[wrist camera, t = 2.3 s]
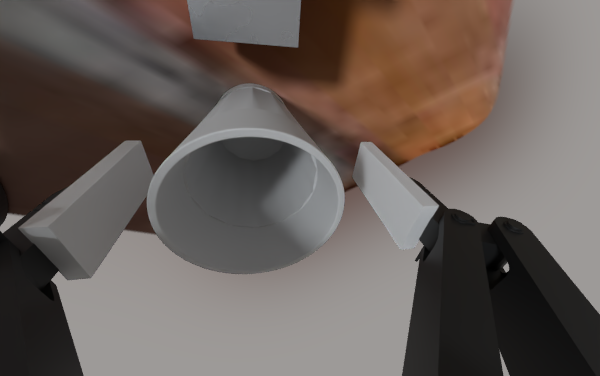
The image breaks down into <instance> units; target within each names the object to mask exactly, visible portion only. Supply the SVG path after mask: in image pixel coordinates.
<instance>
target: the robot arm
mask: <svg viewBox="0 0 600 376" xmlns="http://www.w3.org/2000/svg"><path fill="white" fill-rule="evenodd" d="M153 176H154V175H153V172H152V169H151V167H150V164H149V161H148V158H147V156H146V153H145V150H144V148H143V145H142V142H141V141H126V140H125V141H124V142H123V143H122V144H120V145H119V146H118V147H117V148H116V149H114V150H113V151H112V152H111V153H109V154H108V155H107V156H106V157H105V158H103V159H102V160H101V161H100V162H98V163H97V164H96V165H95V166H93V167H92V168H91V169H90V170H89V171H87V172H86V173H85V174H84V175H82V176H81V177H80V178H79V179H78V180H76V181H75V182H74V183H73V184H71V185H70V186H69V187H66V188H64V189H62V190H60V191H58V192H56V193H54V194H52V195H51V196H50V197H48V198H47V199H46V200H45V201H43V202H42V204H40V205H38V206H37V207H36V208H34V209H33V212H29V213H28V214H27V215H26V216H24V217H23V218H22V219H21V220H19V221H18V222H17V223H16V224H14V225H13V226H12V227H10V228H9V229H8V230H7V231H5V232H4V233H2V232H1V231H0V376H83V372H82V369H81V366H80V362H79V359H78V356H77V353H76V349H75V346H74V343H73V339H72V336H71V333H70V330H69V326H68V323H67V320H66V316H65V313H64V310H63V306H62V303H61V300H60V296H59V293H58V290H57V286H56V285H55V284H54V283H53V282H52V281H51V279H52V278H53V277H54V276H55V274H56V273H57V272H58V271H59V272H60V273H61V274H62V275H63V276H64V277H65V278H66V279H67V280H75V279H86V278H91V277H92V276H93V274H94V273H95V271H96V270H97V268H98V267H99V266H100V264H101V263H102V261H103V260H104V258H105V257H106V255H107V254H108V252H109V251H110V249H111V248H112V246H113V245H114V243H115V242H116V240H117V239H118V238H119V236H120V235H121V233H122V232H123V230H124V229H125V227H126V226H127V224H128V223H129V221H130V220H131V218H132V217H133V215H134V214H135V212H136V211H137V209H138V208H139V206H140V205H141V204H142V202H143V201H144V199H145V198H146V196H147V194H148V189H149V186H150V183H151V180H152V178H153ZM352 178H353V179H354V181H355V182H356V184H357V185H358V187H359V188H360V190H361V191H362V193H363V194H364V196H365V197H366V199H367V200H368V202H369V203H370V205H371V206H372V208H373V209H374V211H375V212H376V214H377V215H378V217H379V218H380V220H381V221H382V223H383V224H384V226H385V227H386V229H387V230H388V232H389V233H390V235H391V236H392V238H393V239H394V241H395V242H396V244H397V245H398V247H399V248H400V249H411V248H415V246H416V244H417V242H418V241H419V240H420V241H421V242H422V243H423V245H424V246H423V248H422V250H421V251H420V253H419V255H418V256H417V258H416V260H415V261H418V260H419V259H420V260H419V268H418V274H417V280H416V287H415V294H414V300H413V307H412V314H411V320H410V327H409V333H408V340H407V347H406V353H405V361H404V367H403V373H402V376H503V371H502V364H501V359H500V352H501V354H502V357H503V360H504V362H505V365H506V367H507V370H508V372H509V375H510V376H600V314H599V313H598V312H597V311H596V310H595V308H594V307H593V306H592V305H591V303H590V302H589V301H588V300H587V299H586V297H585V296H584V295H583V294H582V293H581V291H580V290H579V289H578V288H577V286H576V285H575V284H574V283H573V282H572V280H571V279H570V278H569V277H568V276H567V274H566V273H565V272H564V270H563V269H562V268H561V267H560V266H559V264H558V263H557V262H556V261H555V260H554V258H553V257H552V256H551V255H550V253H549V252H548V251H547V250H546V248H545V247H544V246H543V245H542V244H541V242H540V241H539V240H538V239H537V238H536V236H535V235H534V234H533V233H532V231H531V230H529V229H528V228H527V227H526V226H524V225H523V224H522V223H520V222H518V221H516V220H514V219H510V218H506V217H497V218H496V219H495V220H494V221H493V222H492V224H491V225H490V224H484V223H478V222H477V220H475V219H474V218H473V217H472V216H470V215H469V214H467V213H465V212H463V211H461V210H457V209H448V208H447V207H446V206H445V205H444V204H443V203H441V202H440V201H439V200H438V199H437V198H436V197H435V196H434V195H433V194H431V193H430V192H429V191H428V190H427V189H425V187H424V186H423V185H422V184H421V183H419V182H418V181H416V180H414V179H413V178H410V177H408V176H407V175H406V174H405V173H404V172H403V171H402V170H401V169H400V168H399V167H398V166H397V165H395V164H394V163H393V162H392V161H391V160H390V159H389V158H388V157H387V156H386V155H385V154H384V153H383V152H382V151H381V150H380V149H378V148H377V147H376V146H375V145H374V144H373V143H372V142H361V144H360V148H359V152H358V156H357V160H356V163H355V167H354V171H353V175H352ZM7 213H8V201H7V197H6V194H5V192H4V190H3V188H2V186H1V184H0V226H1V224H2V223H3V222H4V220H5V219H6V216H7ZM507 262H508V264H509V271H508V272H507V273H506V272H505V270H504V269H503V266H504V265H505V264H506V263H507ZM499 350H500V352H499Z"/></svg>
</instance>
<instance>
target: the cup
mask: <svg viewBox="0 0 600 376" xmlns="http://www.w3.org/2000/svg"><path fill="white" fill-rule="evenodd" d="M344 204H345V193H344V187H343V183H342V180H341V177H340V175H339V173H338V171H337V169H336V168H335V166H334V165H333V163H332V162H331V161H330V160H329V159H328V157H327V156H326V155H325V154H324V153H323V152H322V150H321V149H320V148H319V147H318V146H317V145H316V143H315V142H314V141H313V140H312V139H311V138H310V136H309V135H308V134H307V133H306V132H305V130H304V129H303V128H302V127H301V125H300V124H299V123H298V122H297V120H296V119H295V118H294V117H293V115H292V114H291V113H290V112H289V110H288V109H287V108H286V106H285V104H284V102H283V101H282V100H281V98H280V97H279V96H278V95H277V94H276V93H275V92H273V91H272V90H270V89H269V88H267V87H265V86H262V85H259V84H252V83H247V84H240V85H237V86H235V87H233V88H231V89H229V90H228V91H226V92H225V93H224V94H223V95H222V97H221V98H220V100H219V101H218V103H217V104H216V106H215V107H214V108H213V109H212V110H211V111H210V112H209V114H208V115H207V116H206V117H205V118H204V119H203V120H202V121H201V123H200V124H199V125H198V126H197V127H196V128H195V129H194V130H193V131H192V132H191V133H190V134H189V135H188V137H187V138H186V139H185V140H184V141H183V142H182V143H181V144H180V145H179V146H178V147H177V148H176V149H175V150H174V151H173V152H172V153H171V154H170V155H169V156H168V157H167V159H166V160H165V161H164V162H163V163H162V164H161V165H160V167H159V168H158V169H157V171H156V173H155V174H154V176H153V178H152V180H151V183H150V186H149V189H148V194H147V211H148V216H149V220H150V223H151V225H152V227H153V229H154V231H155V233H156V234H157V236H158V237H159V239H160V240H161V241H162V242H163V243H164V244H165V245H166V246H167V247H168V248H169V249H170V250H171V251H172V252H174V253H175V254H176V255H178V256H180V257H181V258H183V259H184V260H186V261H189V262H190V263H192V264H195V265H197V266H200V267H202V268H206V269H209V270H214V271H217V272H223V273H231V274H254V273H262V272H269V271H273V270H277V269H281V268H284V267H287V266H290V265H292V264H294V263H297V262H299V261H301V260H303V259H304V258H306V257H308V256H309V255H311V254H312V253H314V252H315V251H317V250H318V249H319V248H320V247H321V246H322V245H323V244H325V243H326V242H327V240H328V239H329V238H330V237H331V236H332V234H333V233H334V231H335V230H336V228H337V226H338V225H339V223H340V220H341V218H342V215H343V211H344Z"/></svg>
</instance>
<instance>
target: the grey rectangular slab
mask: <svg viewBox="0 0 600 376" xmlns="http://www.w3.org/2000/svg"><path fill="white" fill-rule="evenodd" d="M187 2H188V8H189V14H190V20H191V25H192V31H193V37H194V39H202V40H214V41H226V42H238V43H249V44H261V45H273V46H285V47H297V48H298V41H299V25H300V8H301V0H187Z"/></svg>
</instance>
